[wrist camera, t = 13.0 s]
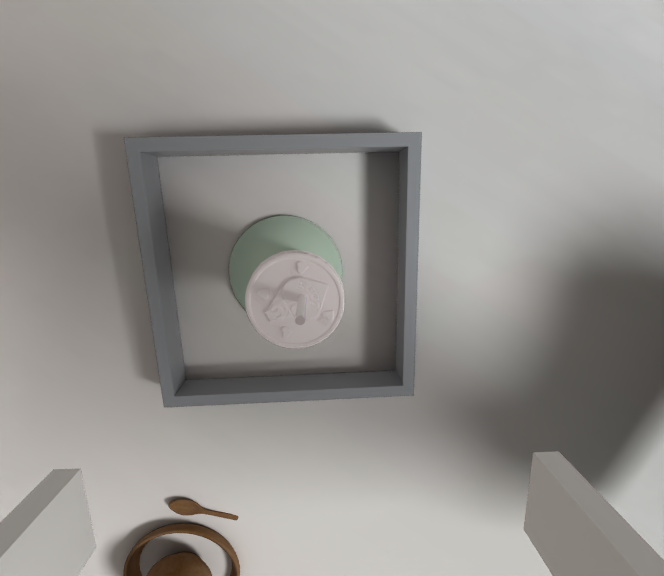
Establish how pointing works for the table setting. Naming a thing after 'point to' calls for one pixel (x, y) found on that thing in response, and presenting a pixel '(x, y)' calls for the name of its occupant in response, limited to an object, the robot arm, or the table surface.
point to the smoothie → (295, 299)
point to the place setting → (182, 568)
